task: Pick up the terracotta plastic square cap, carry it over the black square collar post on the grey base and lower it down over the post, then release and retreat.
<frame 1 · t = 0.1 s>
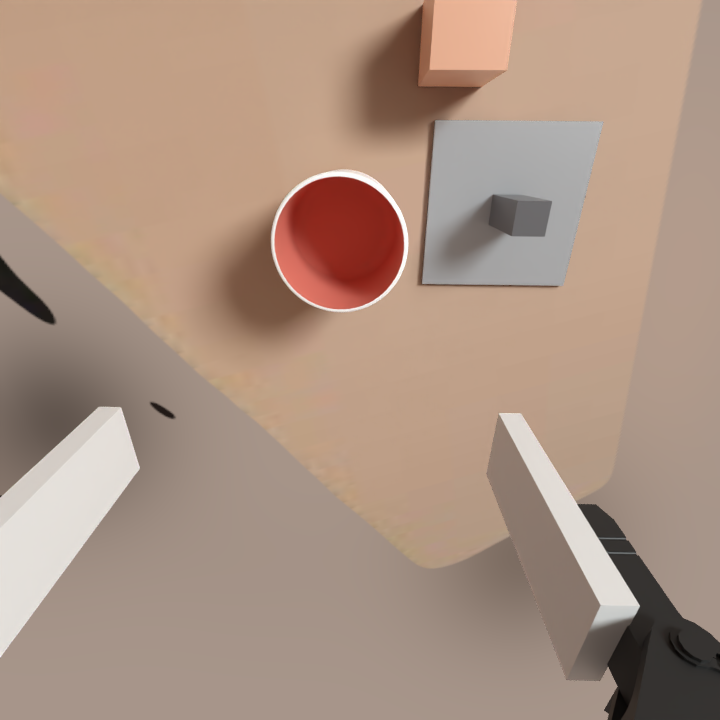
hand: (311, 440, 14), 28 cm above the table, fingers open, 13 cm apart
cup: (345, 227, 38), on the table
cap: (453, 47, 31), on the table
marker post: (503, 209, 37), on the table
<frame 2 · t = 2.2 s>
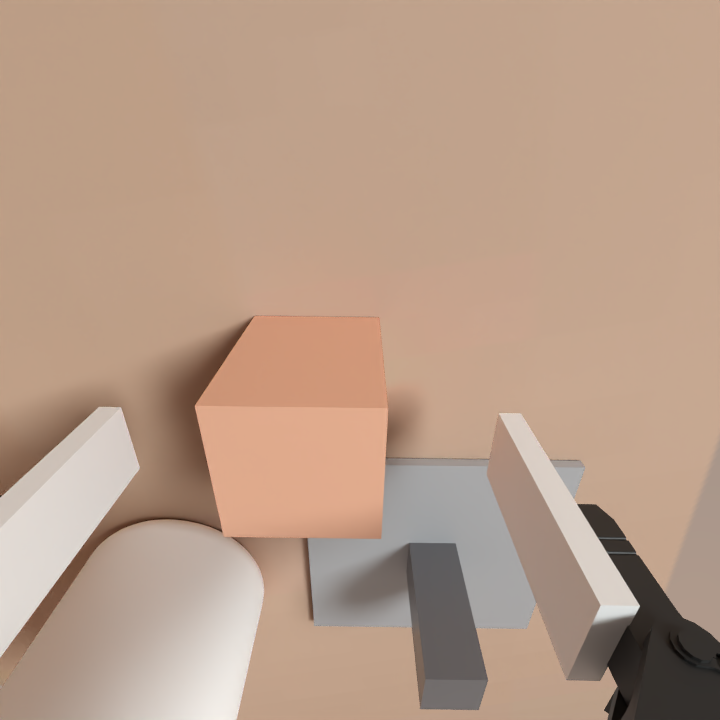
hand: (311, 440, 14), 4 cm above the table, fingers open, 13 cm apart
cup: (188, 562, 24), on the table
cap: (319, 371, 18), on the table
marker post: (429, 550, 23), on the table
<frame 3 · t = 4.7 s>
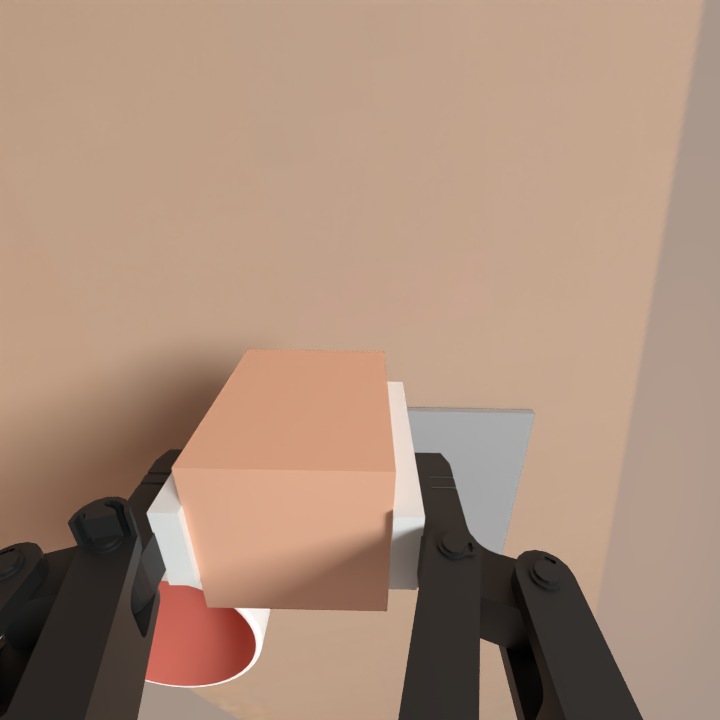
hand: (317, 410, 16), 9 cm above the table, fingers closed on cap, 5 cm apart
cup: (229, 498, 31), on the table
cap: (318, 407, 16), point 9 cm above the table, touching gripper
marker post: (419, 487, 30), on the table
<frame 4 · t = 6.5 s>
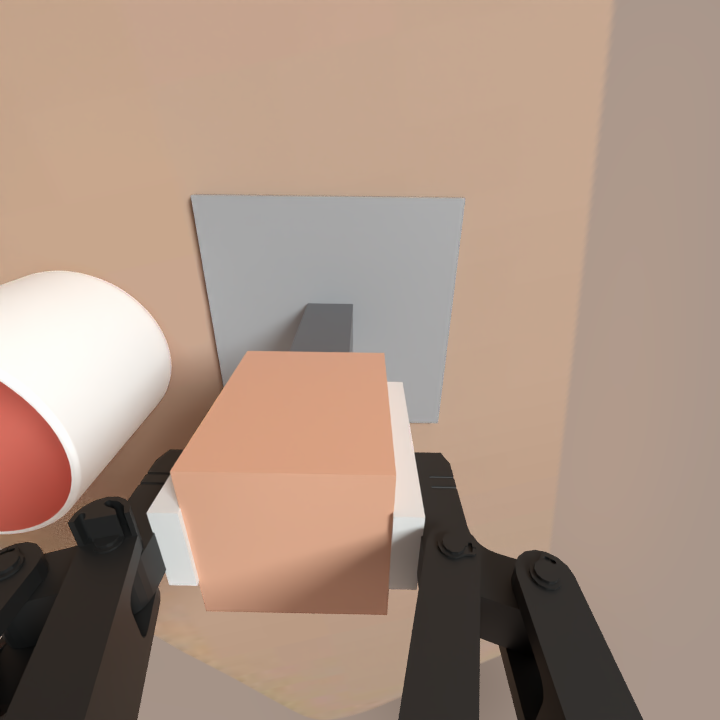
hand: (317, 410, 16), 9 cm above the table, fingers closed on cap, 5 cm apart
cup: (100, 343, 25), on the table
cap: (318, 409, 16), point 9 cm above the table, touching gripper
marker post: (331, 321, 24), on the table
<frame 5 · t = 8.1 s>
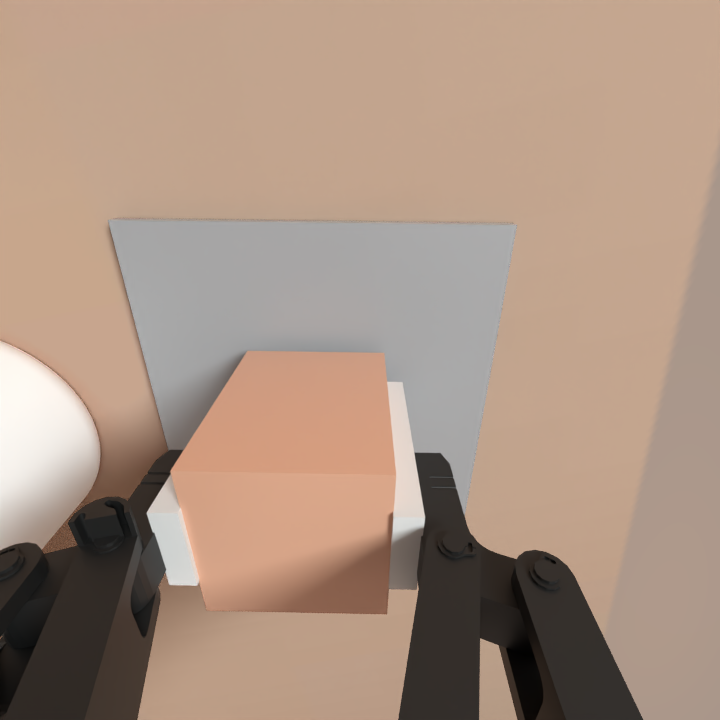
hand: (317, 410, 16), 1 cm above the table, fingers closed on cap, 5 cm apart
cup: (5, 416, 18), on the table
cap: (318, 409, 16), point 1 cm above the table, touching gripper
marker post: (320, 390, 17), on the table
when the fingers open (1 cm above the table, at t = 8.8 s): cap stays where it is, resting on marker post.
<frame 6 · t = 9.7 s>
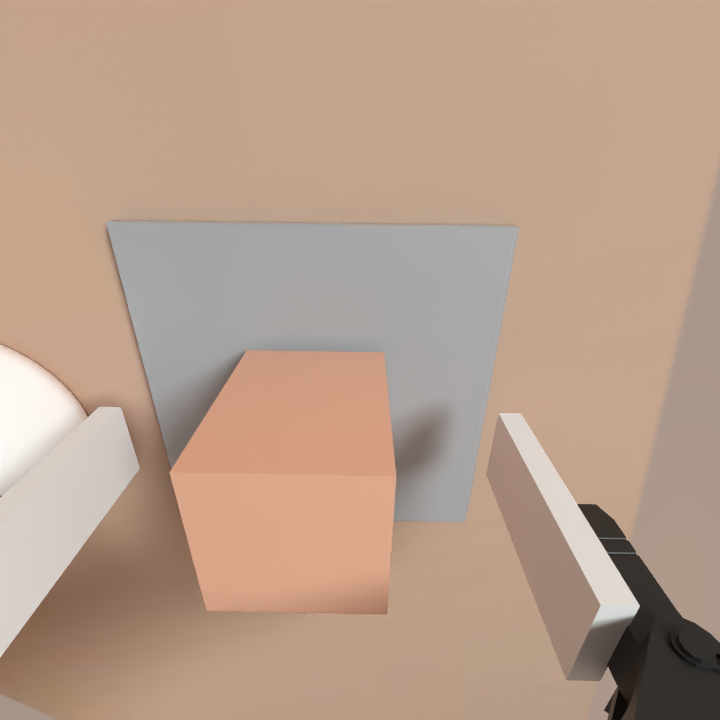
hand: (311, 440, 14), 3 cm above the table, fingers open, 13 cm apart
cup: (2, 419, 18), on the table
cap: (317, 408, 16), point 1 cm above the table, touching marker post
marker post: (320, 393, 17), on the table
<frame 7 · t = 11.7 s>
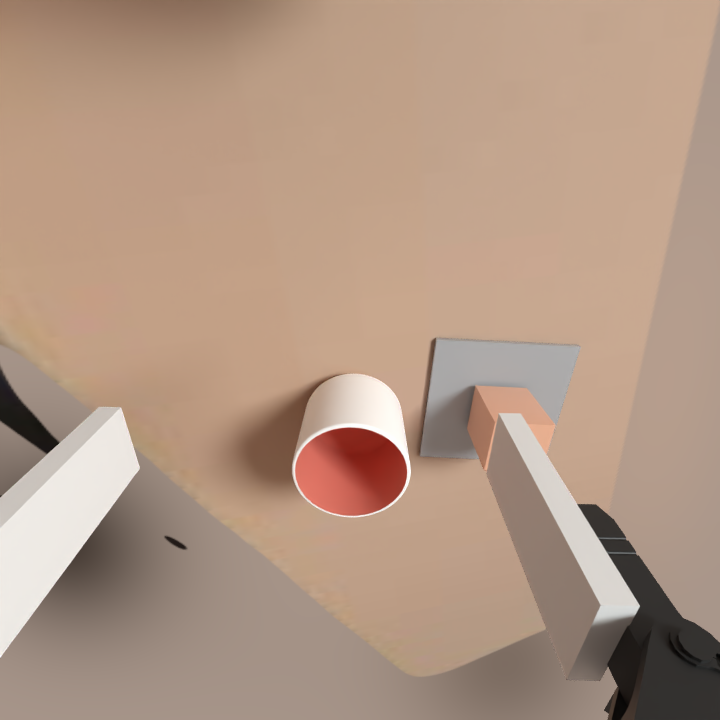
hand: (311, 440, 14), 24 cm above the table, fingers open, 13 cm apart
cup: (353, 409, 42), on the table
cap: (496, 408, 41), point 1 cm above the table, touching marker post
marker post: (493, 402, 42), on the table
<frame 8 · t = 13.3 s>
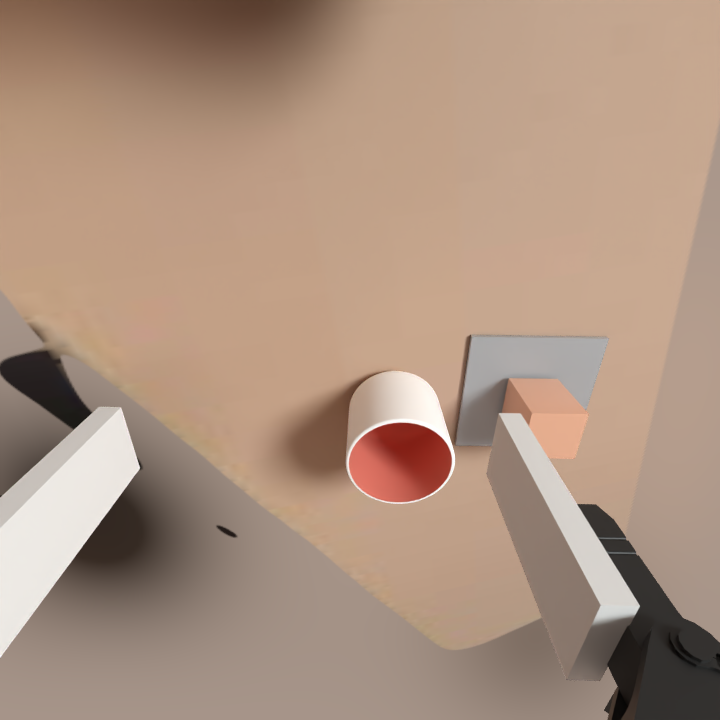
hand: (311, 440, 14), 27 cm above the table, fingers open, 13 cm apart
cup: (393, 403, 45), on the table
cap: (528, 399, 43), point 1 cm above the table, touching marker post
marker post: (525, 393, 44), on the table
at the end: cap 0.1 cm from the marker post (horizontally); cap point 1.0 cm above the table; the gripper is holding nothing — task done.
